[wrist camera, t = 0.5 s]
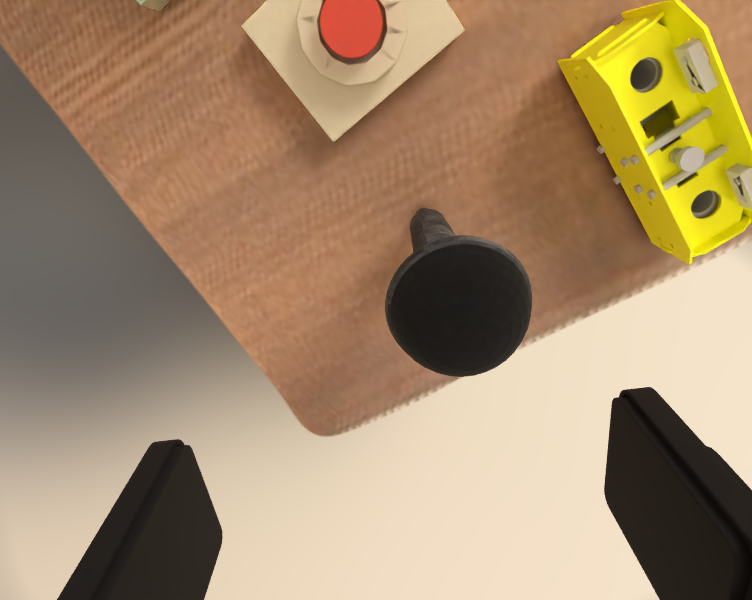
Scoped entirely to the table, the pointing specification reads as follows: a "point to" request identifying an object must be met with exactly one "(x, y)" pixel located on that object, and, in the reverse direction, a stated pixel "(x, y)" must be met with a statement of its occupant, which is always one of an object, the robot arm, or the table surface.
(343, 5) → the button
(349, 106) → the beige button housing
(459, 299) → the microphone
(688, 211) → the yellow toy chassis
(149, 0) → the base
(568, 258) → the table surface
